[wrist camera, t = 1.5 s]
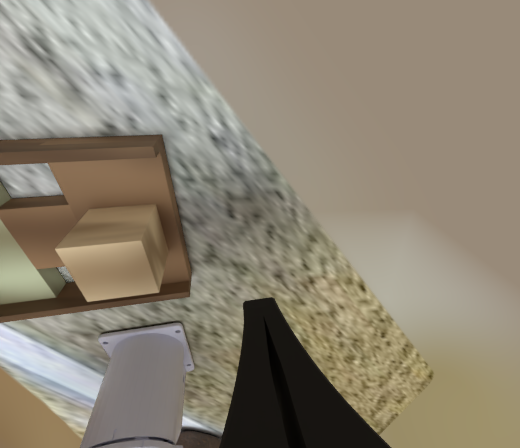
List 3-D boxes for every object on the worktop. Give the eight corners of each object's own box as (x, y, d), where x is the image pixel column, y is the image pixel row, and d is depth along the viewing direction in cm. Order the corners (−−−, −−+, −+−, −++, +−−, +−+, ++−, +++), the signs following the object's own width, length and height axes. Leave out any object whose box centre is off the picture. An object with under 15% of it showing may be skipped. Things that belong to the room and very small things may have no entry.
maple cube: (168, 250, 18) (159, 292, 14) (111, 256, 17) (87, 301, 14) (155, 204, 15) (141, 240, 12) (89, 208, 15) (54, 249, 11)
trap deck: (191, 273, 21) (188, 305, 18) (1, 296, 19) (-37, 336, 16) (161, 134, 15) (149, 150, 12) (-138, 144, 12) (-245, 167, 9)
